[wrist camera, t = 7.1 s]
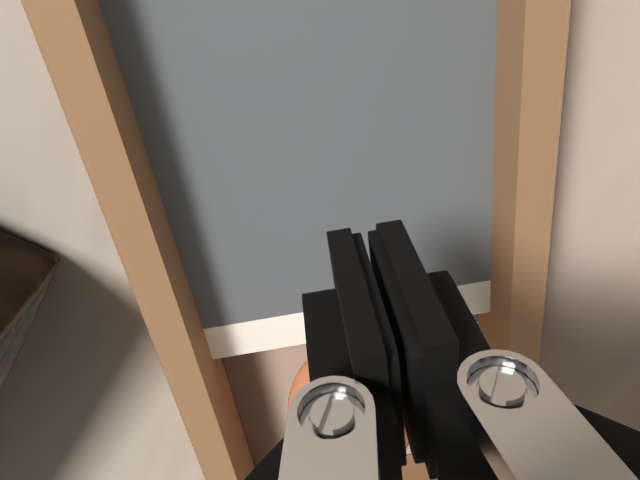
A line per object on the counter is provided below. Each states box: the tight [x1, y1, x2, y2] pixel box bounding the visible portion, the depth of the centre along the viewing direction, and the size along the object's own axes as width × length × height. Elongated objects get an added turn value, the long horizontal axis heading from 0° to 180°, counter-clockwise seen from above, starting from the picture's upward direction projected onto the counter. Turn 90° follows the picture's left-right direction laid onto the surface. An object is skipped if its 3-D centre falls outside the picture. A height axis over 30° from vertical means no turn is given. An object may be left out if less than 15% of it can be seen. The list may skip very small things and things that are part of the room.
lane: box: [21, 0, 571, 480], centre depth 17 cm, size 27×13×5 cm, turn 8°
